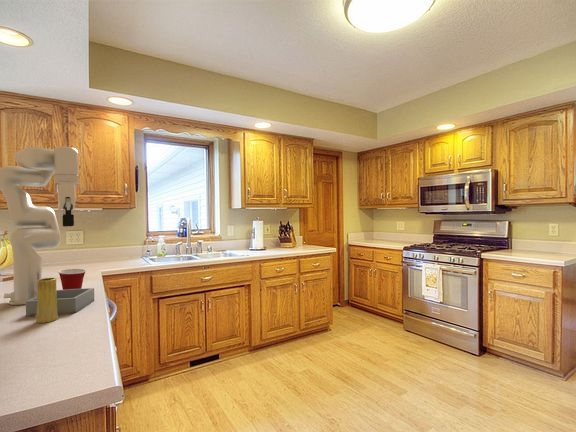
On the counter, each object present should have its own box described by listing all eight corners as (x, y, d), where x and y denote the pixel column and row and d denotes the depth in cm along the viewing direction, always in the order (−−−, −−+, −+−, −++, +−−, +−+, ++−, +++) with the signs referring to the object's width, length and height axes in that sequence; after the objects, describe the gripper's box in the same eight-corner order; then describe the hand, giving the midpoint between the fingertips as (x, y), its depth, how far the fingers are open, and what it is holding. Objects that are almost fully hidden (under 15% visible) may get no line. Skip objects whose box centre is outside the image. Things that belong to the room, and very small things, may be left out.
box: (25, 316, 113) (25, 301, 113) (51, 303, 131) (51, 290, 131) (75, 313, 117) (75, 298, 117) (94, 300, 134) (94, 287, 135)
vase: (32, 324, 105) (31, 281, 105) (41, 318, 111) (40, 278, 111) (53, 322, 107) (52, 280, 107) (61, 316, 113) (60, 277, 113)
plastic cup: (72, 299, 137) (72, 272, 137) (51, 298, 139) (51, 271, 139) (92, 293, 148) (92, 268, 148) (73, 293, 150) (72, 267, 150)
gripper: (54, 183, 122) (55, 226, 122) (54, 176, 109) (55, 226, 108) (77, 183, 127) (78, 226, 127) (80, 177, 113) (81, 225, 113)
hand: (68, 226), depth 117 cm, fingers open, 9 cm apart
